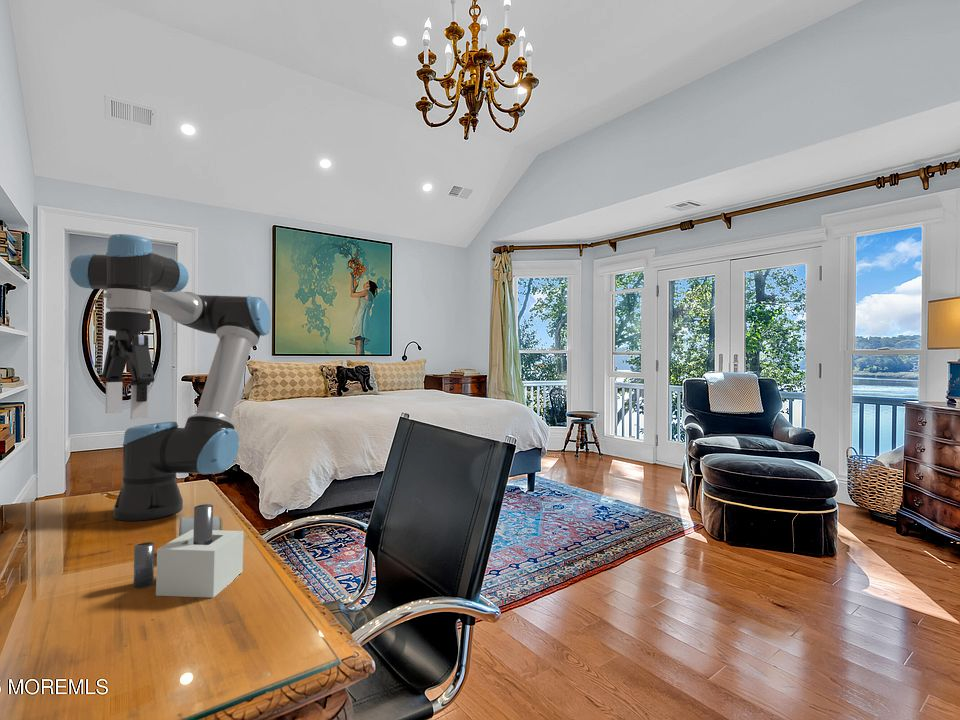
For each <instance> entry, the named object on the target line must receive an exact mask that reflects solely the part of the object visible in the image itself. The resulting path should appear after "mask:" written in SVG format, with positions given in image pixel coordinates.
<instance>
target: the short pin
mask: <svg viewBox="0 0 960 720" xmlns="http://www.w3.org/2000/svg"><path fill="white" fill-rule="evenodd" d="M154 572H155V542H151V541H149V542H142V543H138V544H136V545H134V548H133V582H132V583H133V588H136V589H144V588H147V587H150V586H152V585H154V583H155V582H154V577H155V576H154V575H155V573H154Z"/></svg>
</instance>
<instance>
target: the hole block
mask: <svg viewBox="0 0 960 720" xmlns="http://www.w3.org/2000/svg"><path fill="white" fill-rule="evenodd" d="M244 532H245V531H244V530H225V529H223V530H212V543H211V544H209V545H193V535H194V529H192V530H190V531H188V532H187V533H185V534H183V535H181V536H179V535H178V537H176V538H174V539H173V540H171V541H169V542H167V543H165V544H163V545H162V546H160V547H158V548H157V549H156V573H155V574H156V578H155V579H156V581H155V597H180V598H181V597H184V598H188V597H189V598H209V599H211V598H212V599H214V598H215V597H216V596H217V595H219V594H220V593H221V592H222V591H223V590H224V589H225V588H226V587H228V586H229V585H230V584H232V583H233V580H234V579H235V578H236V577H237V576H238V575H239V574H240V573H242V572H243V571H244V570H243V567H244V565H243V564H244V538H245V537H244ZM242 574H243V573H242ZM238 577H239V576H238ZM238 577H237V578H238ZM237 578H236V579H237ZM236 579H235V580H236ZM235 580H234V581H235ZM227 585H228V586H227Z"/></svg>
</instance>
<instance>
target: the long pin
mask: <svg viewBox="0 0 960 720" xmlns="http://www.w3.org/2000/svg"><path fill="white" fill-rule="evenodd" d="M213 516H214V505H213V504H210V503H209V504H208V503H205V504H199V505H195V506H194V508H193V517H194V535H193V545H209V544H211V543H212V530H213Z"/></svg>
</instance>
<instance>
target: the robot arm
mask: <svg viewBox="0 0 960 720" xmlns="http://www.w3.org/2000/svg"><path fill="white" fill-rule="evenodd" d="M106 248H107V249H106V253H105V254H96V253H91V254H80V255H77V256H76V257H74V258H73V259H72V260H71V262H70V269H69V273H70V277H71V278H72V280H73V283H75V284H76V286H79V287H80V288H83V289H90V290H95V289H99V290H103V291H106V292H105V293H103V294H102V295H103V298H105V299H106V301H105V307H106V309H107V310H109V311H107V312H106V313H105V322H104V323H105V324H104V325H105V326H104V327H105V329H106V330H107V331H115V335H108V342H107V343H108V344H107V349H106V355H105V358H104V359H105V361H104V364H103V369H102V374H101V378H102V379H104V381H105V382H106V383H105V414H120V413H122V412H123V382H125V379H124V376H123V373H124V371H125V369H126V366H127V365H128V368H129V372H130V375H131V378H132V380H131V381H130V383H129V386H131V387H130V419H131V420H135V419H136V420H137V419H148V417H149V413H148V412H149V385H150V384H151V383H154V381H155V375H154V371H153V364H152V360H151V354H150V348H149V335H146V334H142V333H147V332H150V330H151V315H150V314H149V313H148V312H151V310H155V311H157V312H160V313H162V314H164V315H167V316H170V318H171V319H172V320H173V321H174V322H176V323H177V324H180V325H183V326H185V327H188V328H191V329H192V330H197V331H199V332H203V333H208V334H212V335H216V337H218V343H217V346H216V349H215V353H214V356H213V359H212V362H211V365H210V368H209V371H208V375H207V378H206V381H205V384H204V387H203V390H202V394H201V396H200V400H199V403H198V406H197V410H196V413H195V414H192V415H190V416H189V417H187V420H186V423H185V426H184V427H179V425H178V422H176V421H164V422H155V423H150V424H149V423H147V424H143V425H135V426H131V427H128V428H127V429H126V430H125V431H124V436H123V443H122V447H123V448H122V449H123V450H122V453H123V455H122V456H123V458H122V462H123V463H122V484H121V485H122V486H121V488H120V491H119V493H118V496H117V498H116V501H115V504H114V506H113V514H112V515H113V518H114V519H116V520H118V521H127V522H131V521H132V522H135V521H136V522H138V521H149V520H154V519H160V518H164V517H168V516H172V515H175V514H177V513H179V512H181V511H182V510H183V508H184V507H183V506H184V500H183V496H182V494H181V491H180V487H179V485H178V483H177V474H197V475H198V474H201V475H210V474H211V475H213V474H221V473H224V472H225V471H226V470H227V469H229V468H230V467H231V466H232V465H233V463H234V461H235V460H236V458H237V455H238V452H239V450H240V449H239V448H240V444H239V442H240V436H239V433H238V431H236V430H235V428H236V427H235V424H234V423H233V422H232V420H231V419H232V417H233V413H234V409H235V406H236V403H237V399H238V394H239V392H240V389H241V388H240V387H241V384H242V382H243V381H242V380H243V377H244V373H245V369H246V366H247V364H248V363H247V362H248V360H249V355H250V354H251V353H250V352H251V350H252V349H251V348H253V347H255V346H256V345H258V343H259V341H260V337H265V336H267V335H268V334H270V331H271V327H272V317H271V313H270V312H271V311H270V309H269V305H268V304H267V302H266V301H265V300H264V299H263V297H259V296H251V295H247V296H238V295H236V296H235V295H234V296H233V295H209V294H208V295H204V294H202V295H201V294H197V293H194V292H192V291H182V290H184V289H185V288H186V286H187V285H188V283H189V278H190V277H189V272H188V271H189V270H188V269H187V268H186V266H185V265H184V264H183V263H182V262H179V261H177V260H175V259H173V258H169V257H166V256H163V255H159V254H157V253H154V249H153V244H152V242H151V240H150V239H148V238H147V237H144V236H140V235H134V234H126V233H121V234H120V233H117V234H111V236H109V238H108V240H107V247H106Z"/></svg>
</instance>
